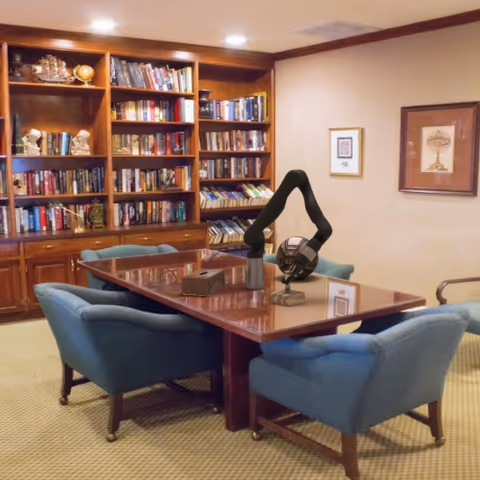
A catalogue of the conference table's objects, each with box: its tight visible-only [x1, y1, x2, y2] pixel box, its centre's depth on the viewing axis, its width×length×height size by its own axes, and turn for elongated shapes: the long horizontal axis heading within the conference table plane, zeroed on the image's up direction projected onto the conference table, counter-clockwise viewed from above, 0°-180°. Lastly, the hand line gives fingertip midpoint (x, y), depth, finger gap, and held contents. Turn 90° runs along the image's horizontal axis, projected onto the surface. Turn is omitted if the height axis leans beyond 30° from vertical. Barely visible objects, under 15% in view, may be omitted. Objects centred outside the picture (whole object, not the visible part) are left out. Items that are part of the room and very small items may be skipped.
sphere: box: [275, 235, 320, 280], centre depth 357 cm, size 25×25×25 cm
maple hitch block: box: [270, 288, 306, 307], centre depth 301 cm, size 12×12×5 cm
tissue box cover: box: [181, 268, 226, 297], centre depth 331 cm, size 26×14×10 cm, turn 161°
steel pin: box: [284, 270, 291, 291], centre depth 299 cm, size 3×3×10 cm
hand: (284, 283), depth 299 cm, fingers closed on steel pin, 2 cm apart
